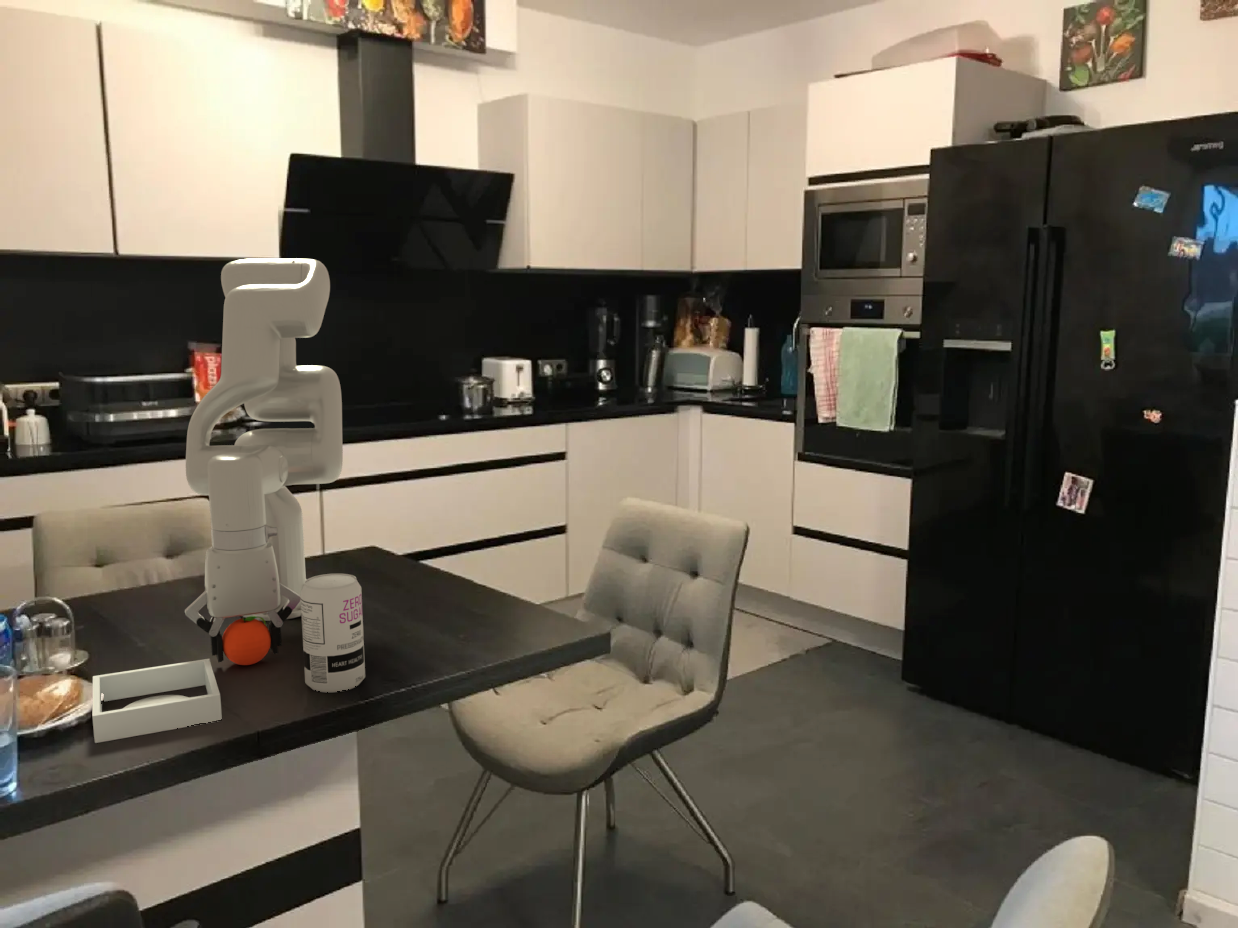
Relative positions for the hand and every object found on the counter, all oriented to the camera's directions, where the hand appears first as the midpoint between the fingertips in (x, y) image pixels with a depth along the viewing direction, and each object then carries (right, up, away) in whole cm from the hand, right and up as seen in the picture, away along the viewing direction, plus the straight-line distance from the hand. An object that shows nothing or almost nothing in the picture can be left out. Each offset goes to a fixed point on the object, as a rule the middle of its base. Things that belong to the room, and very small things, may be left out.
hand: (247, 654), depth 151 cm
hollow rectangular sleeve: (-6, -4, -17) cm, 18 cm away
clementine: (0, -2, +1) cm, 2 cm away
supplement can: (+15, -3, -7) cm, 17 cm away
